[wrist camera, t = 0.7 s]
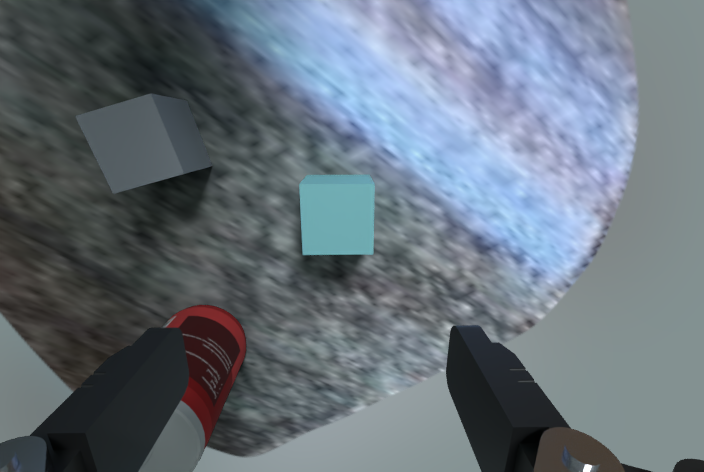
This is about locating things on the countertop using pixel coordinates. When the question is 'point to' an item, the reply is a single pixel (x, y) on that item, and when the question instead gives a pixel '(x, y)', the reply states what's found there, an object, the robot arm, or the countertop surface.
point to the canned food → (199, 386)
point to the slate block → (144, 141)
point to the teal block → (337, 214)
